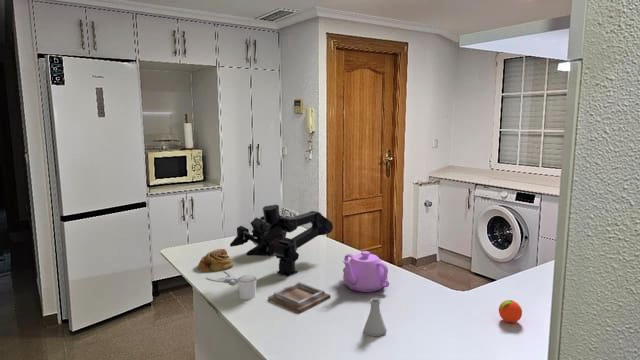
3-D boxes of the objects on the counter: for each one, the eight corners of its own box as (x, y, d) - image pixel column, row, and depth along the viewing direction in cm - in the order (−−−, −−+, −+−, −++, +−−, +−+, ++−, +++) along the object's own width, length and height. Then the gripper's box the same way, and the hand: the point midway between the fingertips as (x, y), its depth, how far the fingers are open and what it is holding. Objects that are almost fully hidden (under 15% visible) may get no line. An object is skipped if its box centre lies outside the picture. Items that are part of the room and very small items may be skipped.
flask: (361, 325, 137) (361, 296, 136) (383, 324, 138) (384, 295, 136) (365, 337, 130) (365, 306, 129) (389, 336, 131) (389, 305, 129)
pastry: (233, 270, 187) (233, 252, 186) (198, 273, 184) (196, 255, 182) (232, 260, 200) (231, 243, 199) (198, 263, 196) (197, 246, 195)
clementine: (507, 329, 134) (509, 307, 133) (490, 319, 141) (491, 298, 139) (526, 324, 137) (527, 302, 136) (509, 314, 144) (510, 294, 143)
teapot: (321, 288, 166) (321, 254, 164) (356, 273, 182) (356, 241, 180) (367, 305, 152) (367, 267, 149) (401, 286, 167) (402, 252, 165)
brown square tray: (299, 286, 168) (299, 279, 168) (330, 297, 158) (330, 291, 157) (268, 299, 157) (268, 292, 156) (299, 313, 146) (299, 305, 146)
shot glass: (260, 294, 162) (259, 276, 161) (251, 301, 156) (251, 283, 154) (244, 291, 164) (243, 274, 163) (234, 299, 158) (234, 280, 157)
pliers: (225, 268, 185) (247, 277, 175) (225, 272, 185) (248, 280, 176) (205, 275, 178) (228, 284, 168) (205, 279, 178) (228, 288, 168)
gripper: (251, 208, 174) (220, 222, 163) (285, 223, 164) (254, 239, 153) (253, 232, 179) (222, 247, 168) (285, 248, 168) (255, 266, 157)
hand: (238, 249), depth 161 cm, fingers open, 9 cm apart
